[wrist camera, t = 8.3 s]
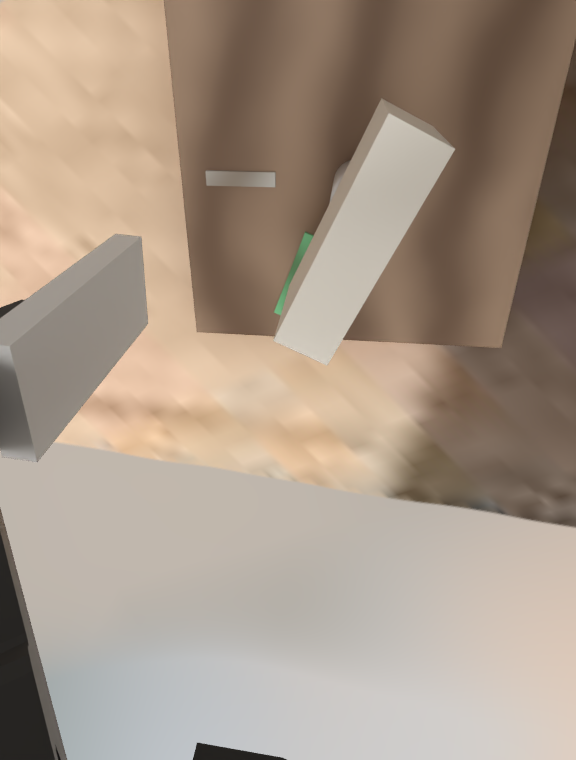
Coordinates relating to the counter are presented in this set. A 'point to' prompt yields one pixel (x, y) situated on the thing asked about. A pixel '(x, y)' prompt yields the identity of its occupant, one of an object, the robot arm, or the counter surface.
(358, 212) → the white stand
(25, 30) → the counter surface
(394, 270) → the wooden cutting board
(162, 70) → the counter surface
